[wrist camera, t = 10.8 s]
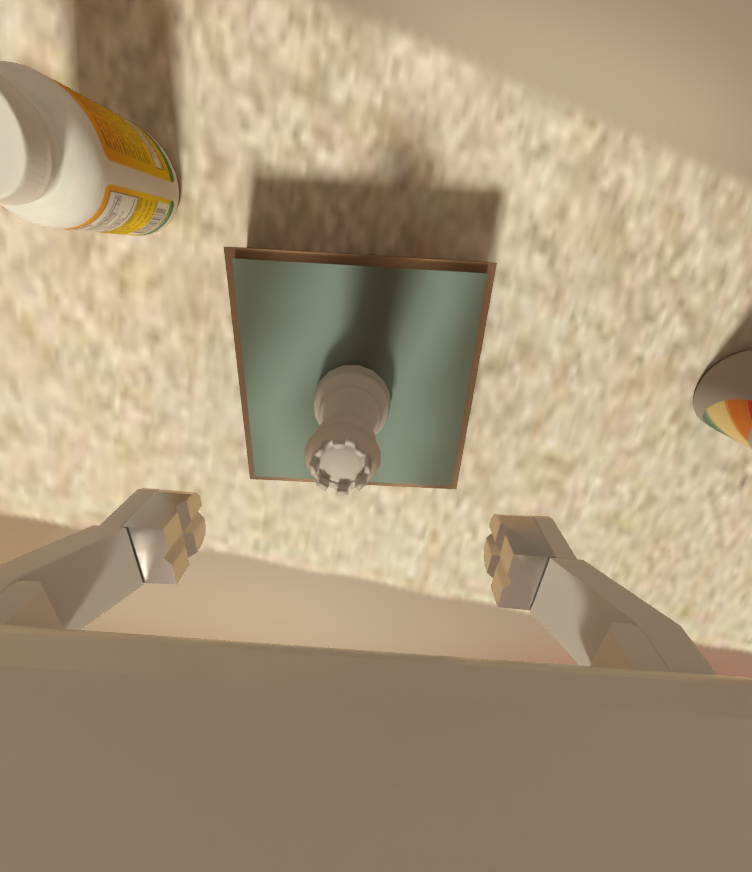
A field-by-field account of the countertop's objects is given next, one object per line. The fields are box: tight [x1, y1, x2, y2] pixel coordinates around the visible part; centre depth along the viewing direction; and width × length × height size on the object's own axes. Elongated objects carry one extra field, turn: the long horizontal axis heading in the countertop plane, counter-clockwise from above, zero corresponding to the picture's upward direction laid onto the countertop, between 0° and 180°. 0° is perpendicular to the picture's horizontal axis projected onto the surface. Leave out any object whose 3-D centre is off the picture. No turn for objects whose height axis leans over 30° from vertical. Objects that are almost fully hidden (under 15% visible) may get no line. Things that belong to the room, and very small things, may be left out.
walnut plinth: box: [224, 247, 497, 489], centre depth 24 cm, size 14×14×4 cm
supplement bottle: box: [0, 61, 179, 236], centre depth 17 cm, size 5×5×10 cm
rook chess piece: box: [304, 365, 390, 495], centre depth 19 cm, size 4×4×8 cm
